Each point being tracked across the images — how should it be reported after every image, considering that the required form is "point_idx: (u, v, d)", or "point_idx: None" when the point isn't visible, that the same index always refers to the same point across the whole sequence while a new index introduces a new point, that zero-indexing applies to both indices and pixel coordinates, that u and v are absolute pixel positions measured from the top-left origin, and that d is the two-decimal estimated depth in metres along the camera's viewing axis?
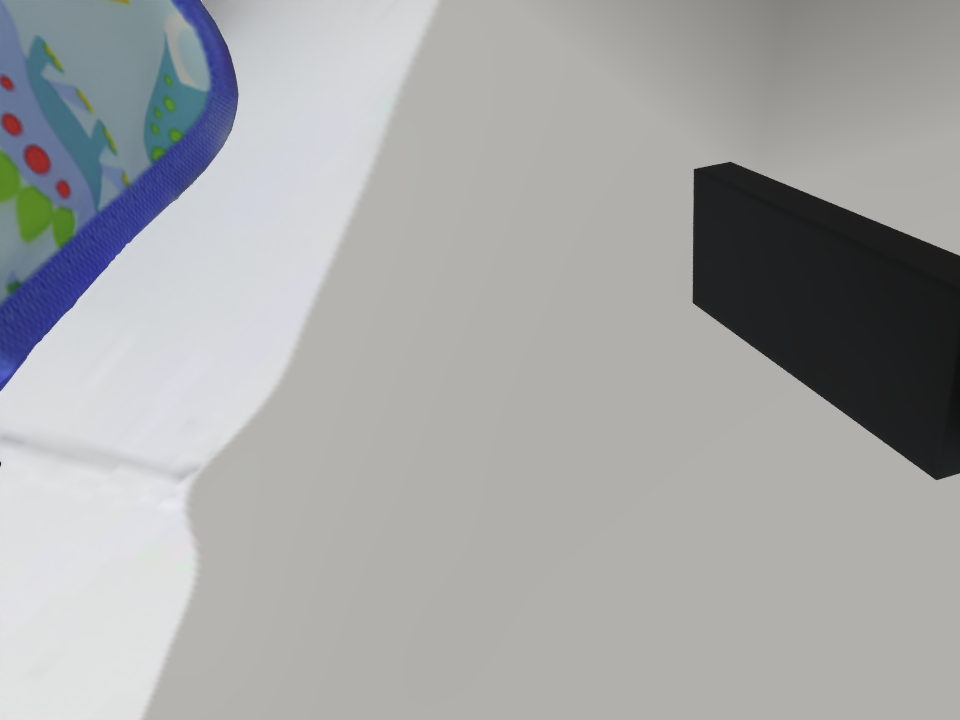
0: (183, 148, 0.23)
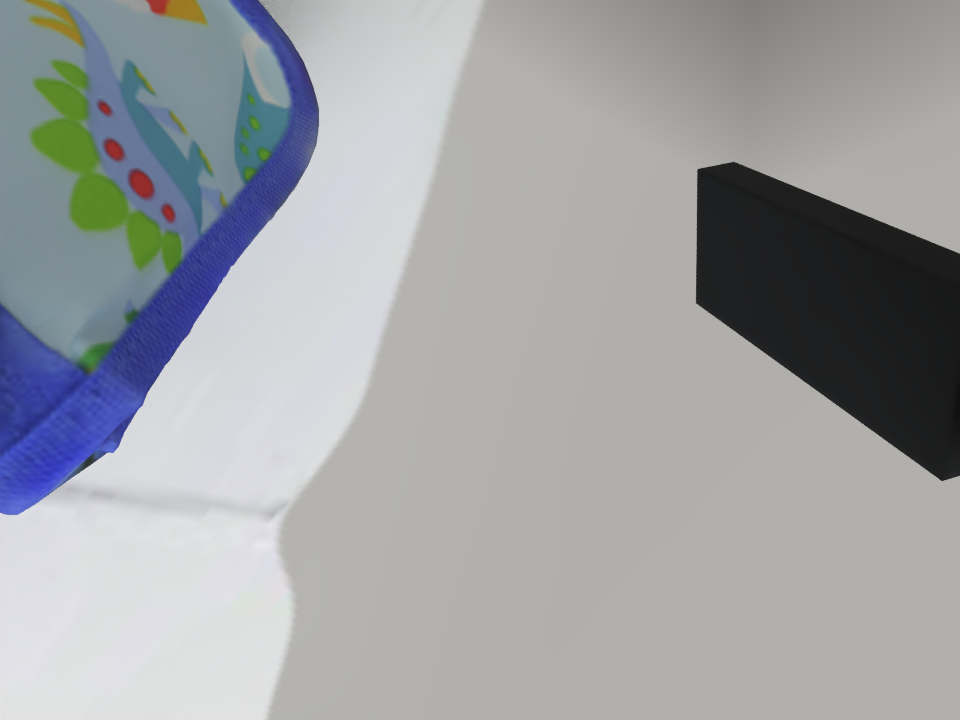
0: (273, 166, 0.23)
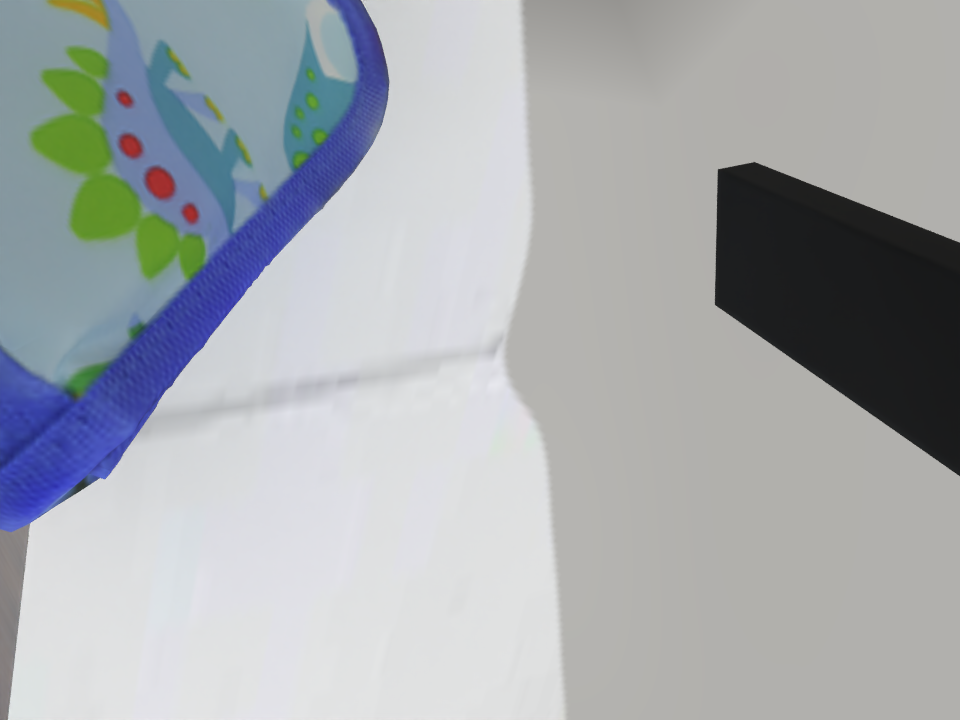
0: (328, 150, 0.21)
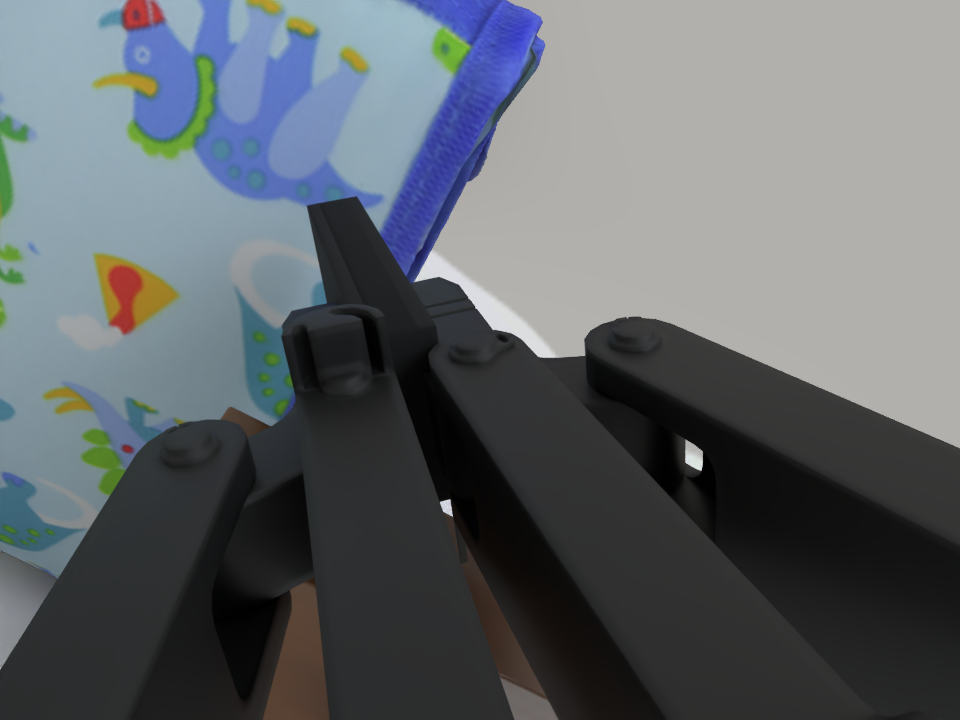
0: None
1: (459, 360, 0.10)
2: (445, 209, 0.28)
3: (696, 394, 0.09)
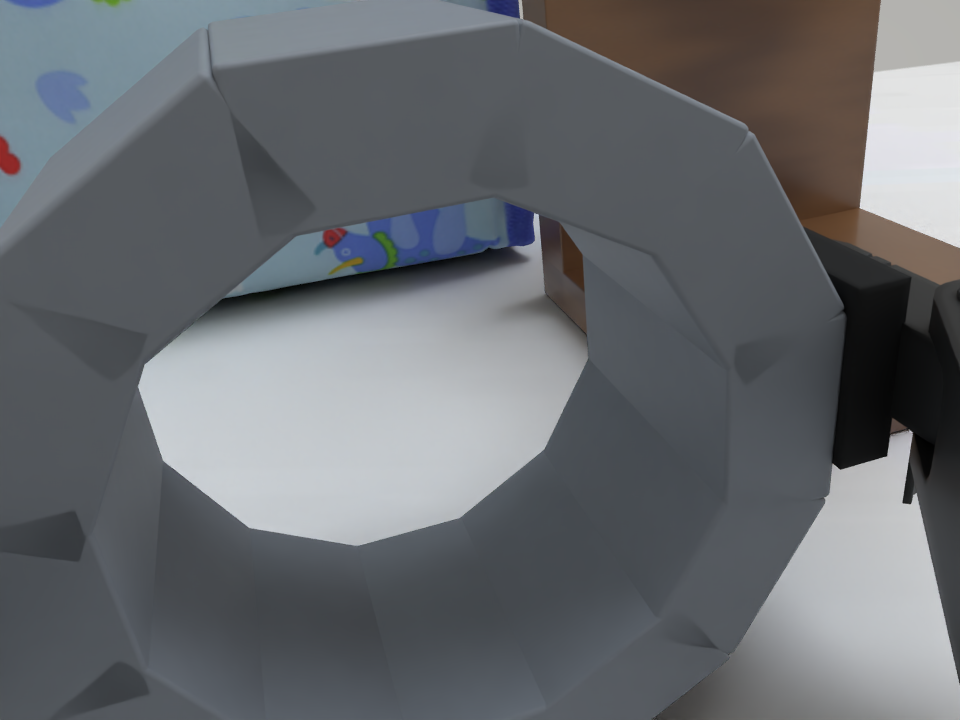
0: None
1: None
2: None
3: None
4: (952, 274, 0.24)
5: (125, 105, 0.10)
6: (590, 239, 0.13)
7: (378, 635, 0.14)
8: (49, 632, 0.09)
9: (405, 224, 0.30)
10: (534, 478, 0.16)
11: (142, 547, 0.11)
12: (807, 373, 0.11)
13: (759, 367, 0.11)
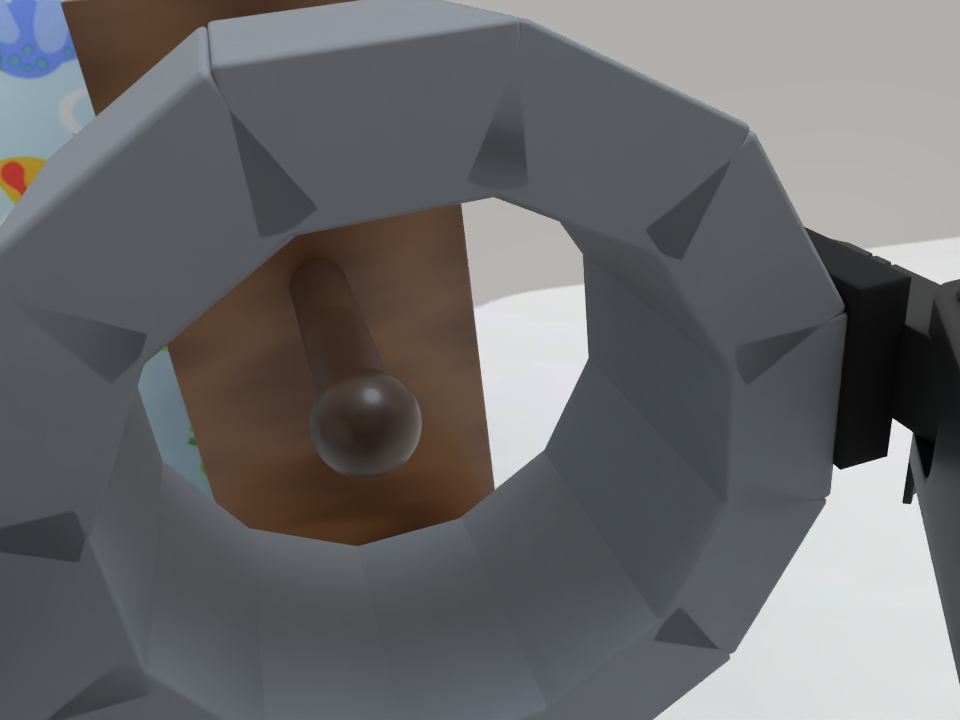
0: None
1: None
2: None
3: None
4: None
5: (125, 104, 0.10)
6: (590, 239, 0.13)
7: (378, 635, 0.14)
8: (48, 632, 0.09)
9: None
10: (534, 479, 0.16)
11: (142, 547, 0.11)
12: (808, 373, 0.11)
13: (760, 367, 0.11)
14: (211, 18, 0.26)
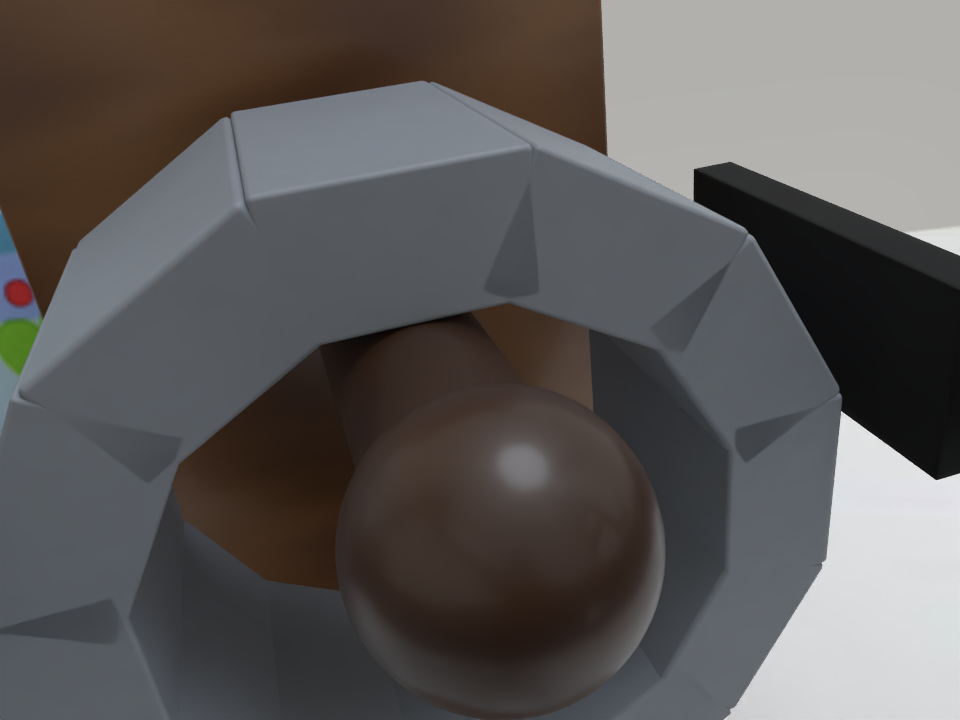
0: None
1: None
2: None
3: None
4: None
5: (156, 204, 0.11)
6: None
7: (392, 687, 0.14)
8: (86, 709, 0.10)
9: None
10: None
11: (169, 616, 0.12)
12: (804, 450, 0.12)
13: (759, 446, 0.11)
14: None
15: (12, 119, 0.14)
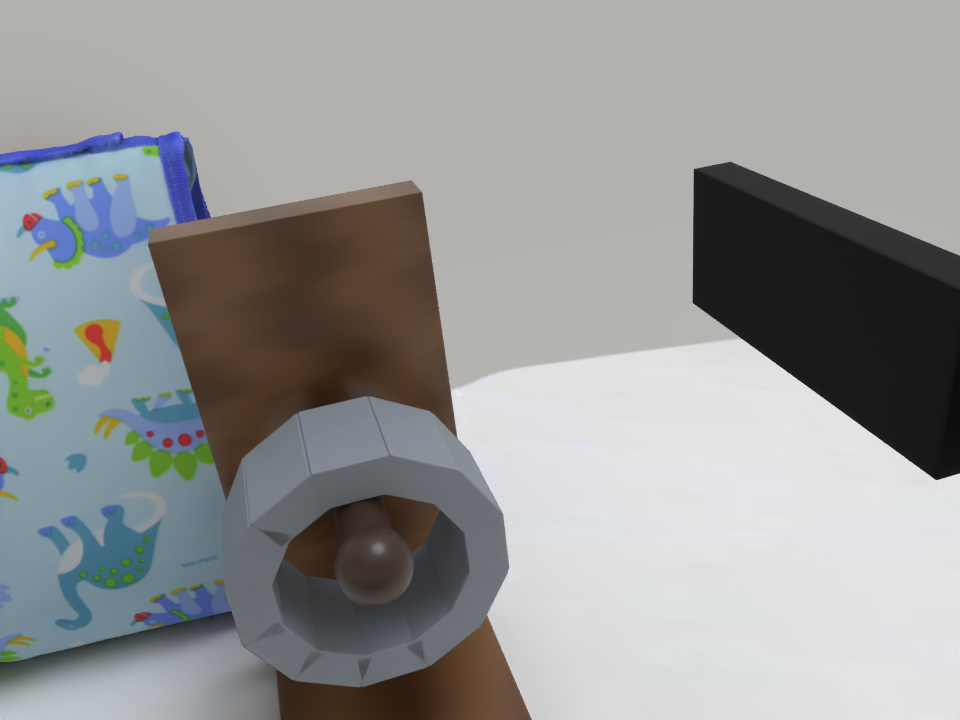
0: None
1: None
2: None
3: None
4: (484, 693, 0.40)
5: (277, 455, 0.33)
6: None
7: (355, 617, 0.37)
8: (257, 613, 0.33)
9: (190, 604, 0.46)
10: (420, 554, 0.39)
11: (277, 587, 0.34)
12: (492, 532, 0.34)
13: (474, 531, 0.34)
14: (257, 246, 0.34)
15: (212, 401, 0.37)
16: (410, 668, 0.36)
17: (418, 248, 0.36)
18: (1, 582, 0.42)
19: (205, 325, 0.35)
